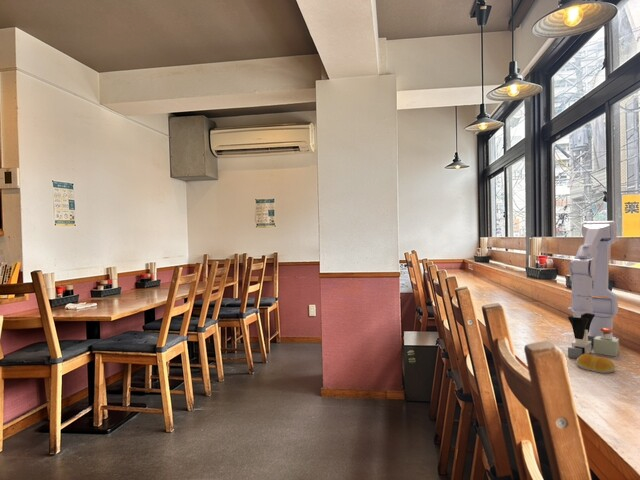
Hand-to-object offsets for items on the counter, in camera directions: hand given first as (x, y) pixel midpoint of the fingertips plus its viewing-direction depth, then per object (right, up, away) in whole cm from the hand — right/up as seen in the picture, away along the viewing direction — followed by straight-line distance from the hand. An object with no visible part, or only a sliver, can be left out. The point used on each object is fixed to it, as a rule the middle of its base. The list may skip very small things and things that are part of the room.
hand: (581, 336), depth 132 cm
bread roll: (-7, -5, -17) cm, 19 cm away
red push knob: (+8, -3, 0) cm, 8 cm away
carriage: (0, -5, 0) cm, 5 cm away
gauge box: (+8, -5, 0) cm, 9 cm away
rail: (+1, -5, +2) cm, 5 cm away
